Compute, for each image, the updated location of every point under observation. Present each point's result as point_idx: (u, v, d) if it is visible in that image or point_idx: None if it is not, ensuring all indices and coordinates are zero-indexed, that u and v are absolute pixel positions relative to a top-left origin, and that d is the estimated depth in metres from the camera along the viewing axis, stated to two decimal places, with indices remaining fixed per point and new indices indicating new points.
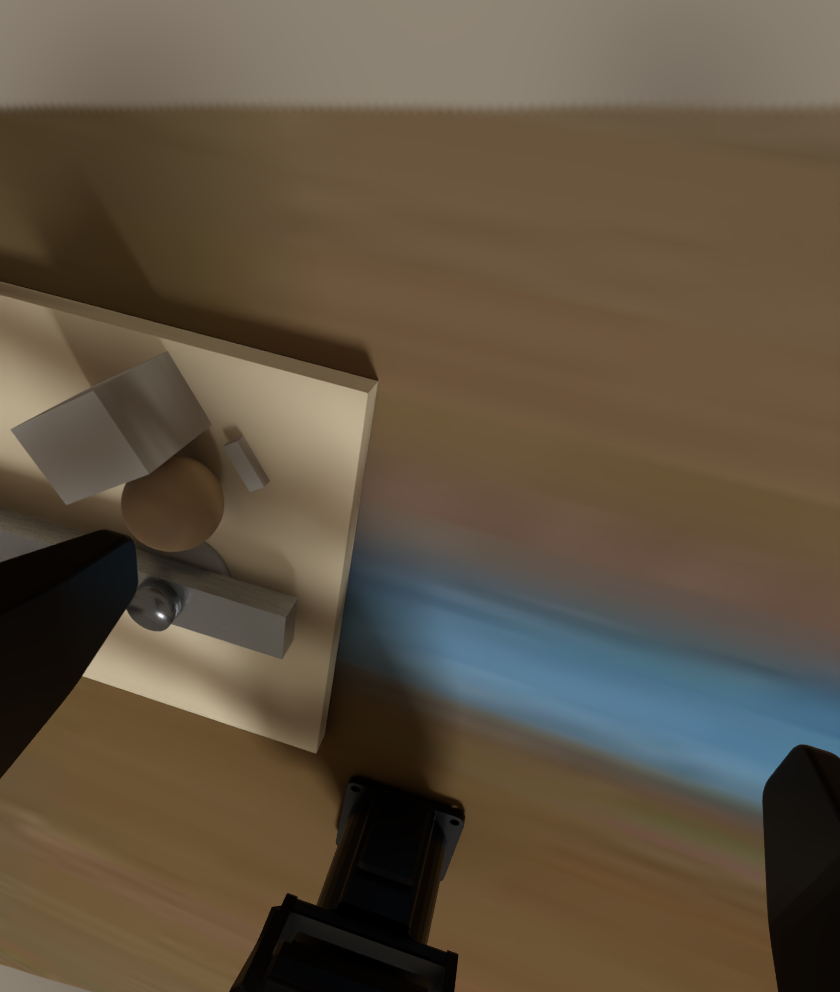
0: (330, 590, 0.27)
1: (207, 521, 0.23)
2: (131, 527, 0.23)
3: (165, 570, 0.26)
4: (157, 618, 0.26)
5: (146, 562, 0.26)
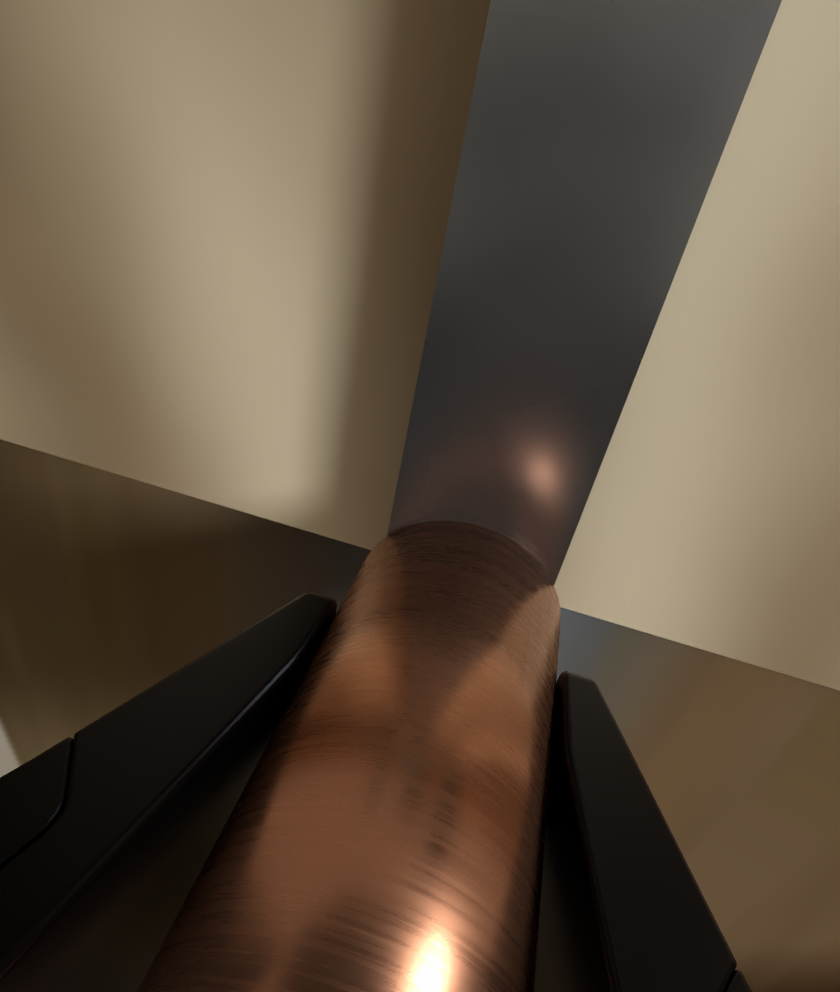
0: None
1: None
2: None
3: None
4: None
5: None
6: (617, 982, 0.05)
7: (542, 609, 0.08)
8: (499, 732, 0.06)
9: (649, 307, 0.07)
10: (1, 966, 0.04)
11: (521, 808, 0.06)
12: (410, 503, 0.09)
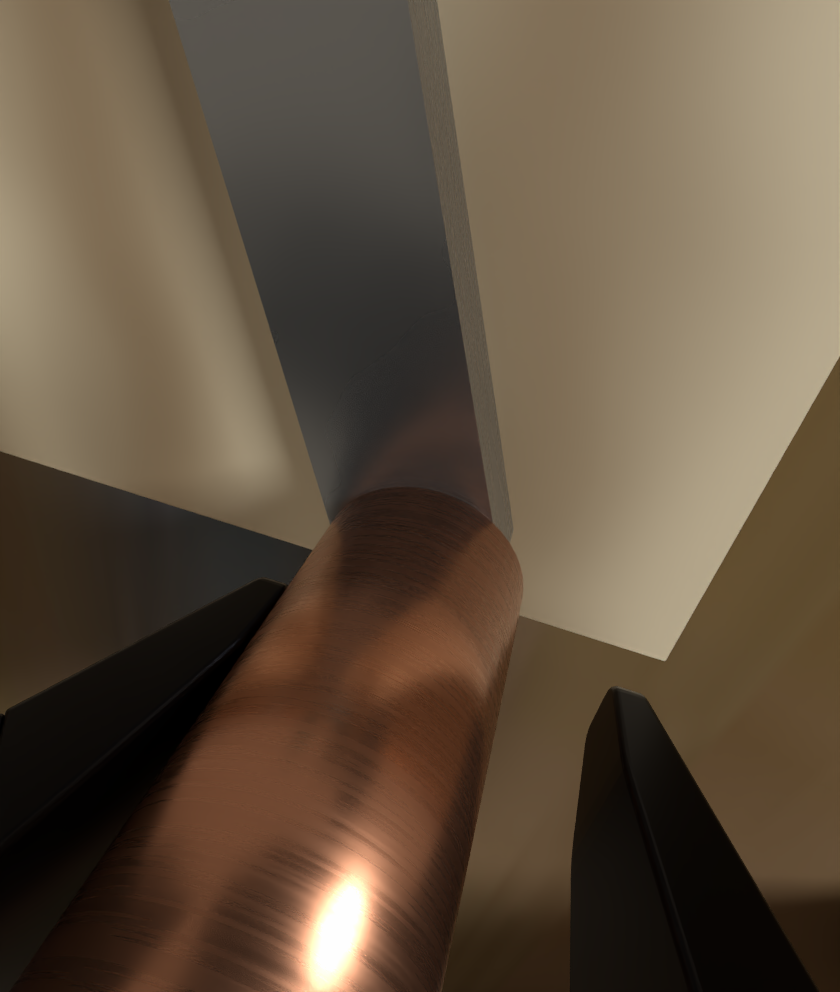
0: None
1: None
2: None
3: None
4: None
5: None
6: None
7: (468, 545, 0.08)
8: (382, 661, 0.06)
9: (431, 217, 0.07)
10: None
11: (406, 727, 0.06)
12: (333, 486, 0.09)
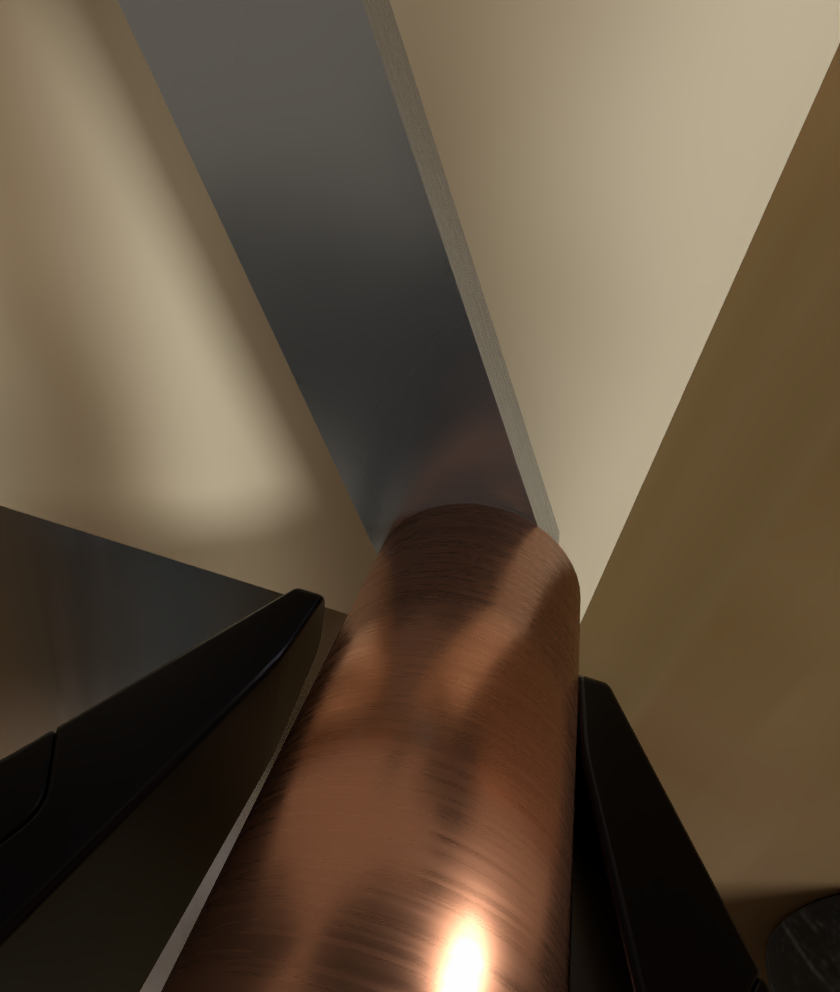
0: None
1: None
2: None
3: None
4: None
5: None
6: (641, 990, 0.05)
7: (517, 550, 0.08)
8: (451, 671, 0.06)
9: (429, 238, 0.07)
10: None
11: (486, 732, 0.06)
12: (375, 517, 0.09)
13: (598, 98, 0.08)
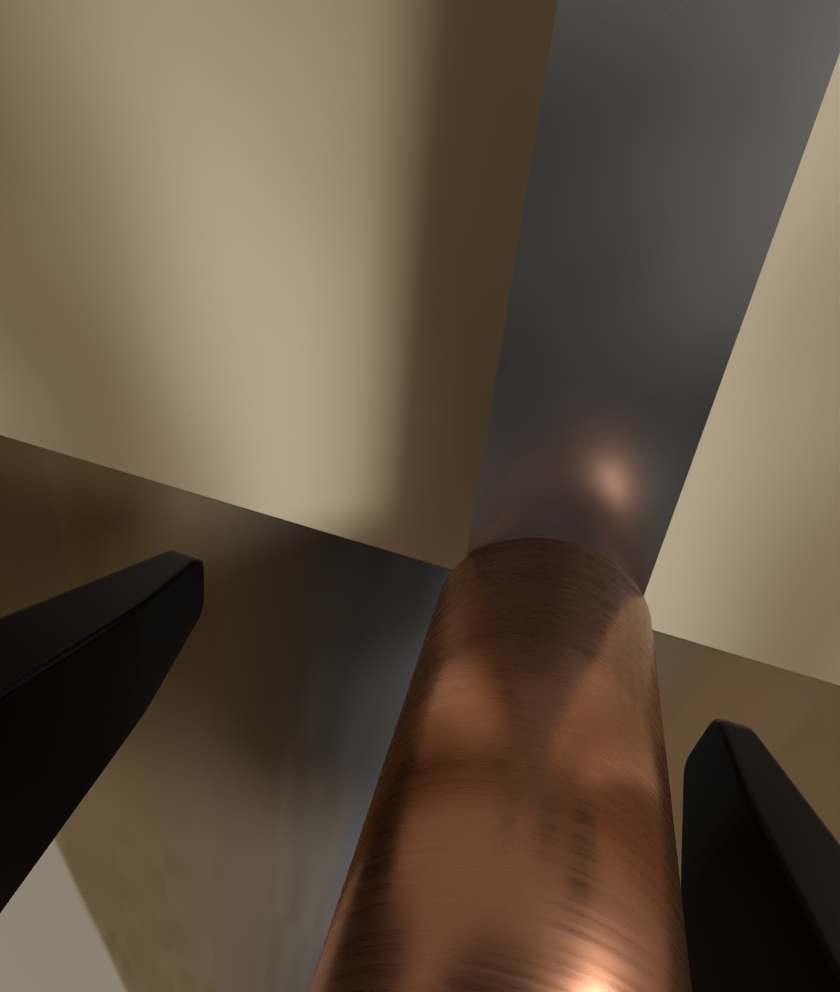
0: None
1: None
2: None
3: None
4: None
5: None
6: None
7: (638, 622, 0.08)
8: (623, 756, 0.06)
9: (735, 304, 0.06)
10: None
11: (656, 836, 0.05)
12: (489, 522, 0.08)
13: None
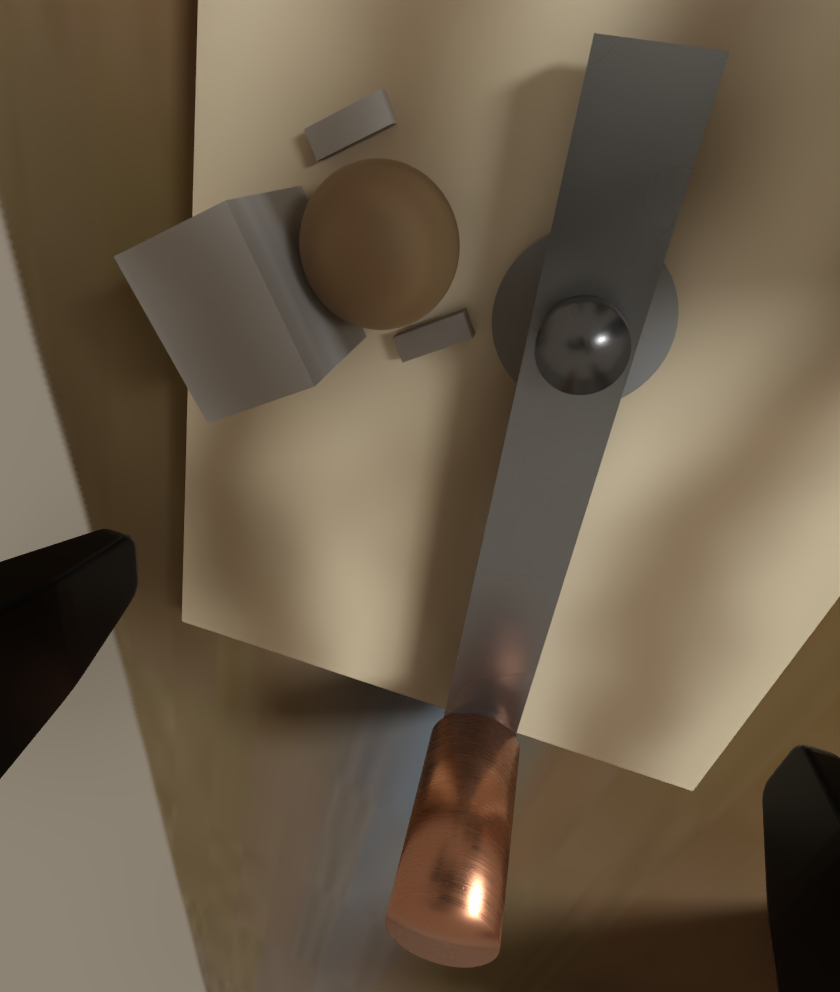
0: None
1: (382, 166, 0.13)
2: (364, 295, 0.13)
3: None
4: (595, 333, 0.13)
5: None
6: None
7: (509, 751, 0.20)
8: (492, 807, 0.18)
9: (537, 651, 0.19)
10: None
11: (500, 833, 0.18)
12: (453, 706, 0.21)
13: (755, 576, 0.18)
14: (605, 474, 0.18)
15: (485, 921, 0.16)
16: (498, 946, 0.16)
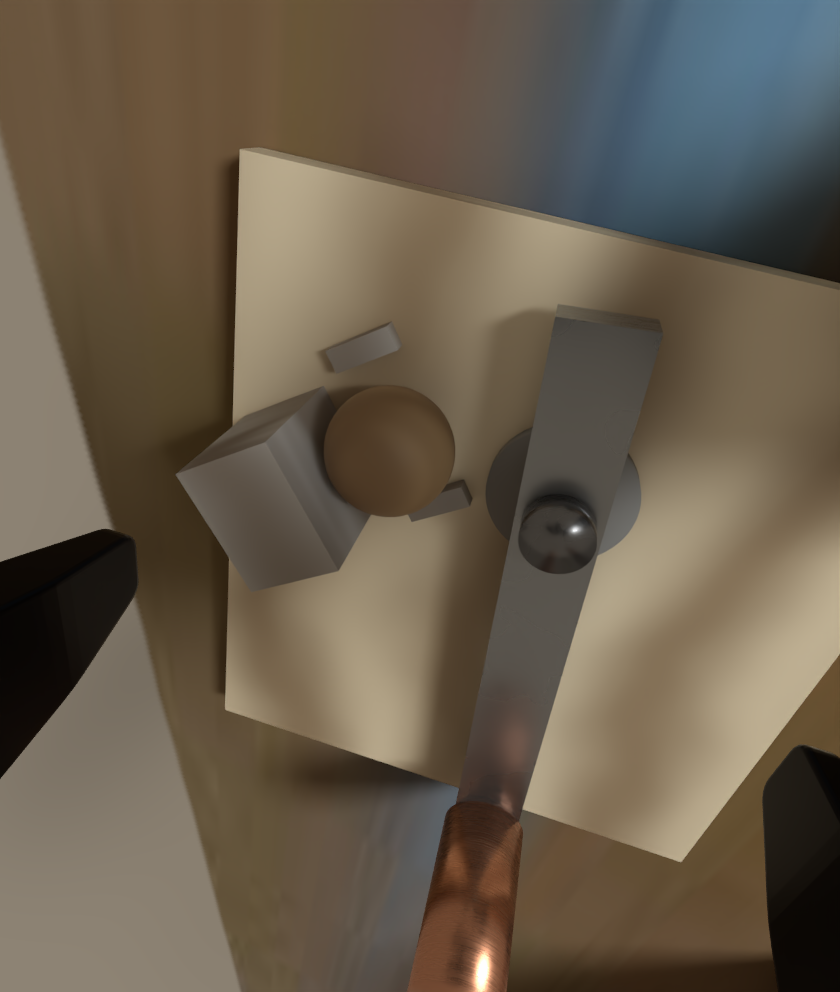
0: (586, 248, 0.16)
1: (389, 402, 0.16)
2: (377, 503, 0.16)
3: None
4: (567, 531, 0.16)
5: None
6: None
7: (512, 837, 0.23)
8: (497, 893, 0.21)
9: (534, 755, 0.22)
10: None
11: (503, 916, 0.21)
12: (463, 795, 0.24)
13: (722, 691, 0.21)
14: (588, 608, 0.21)
15: None
16: None
